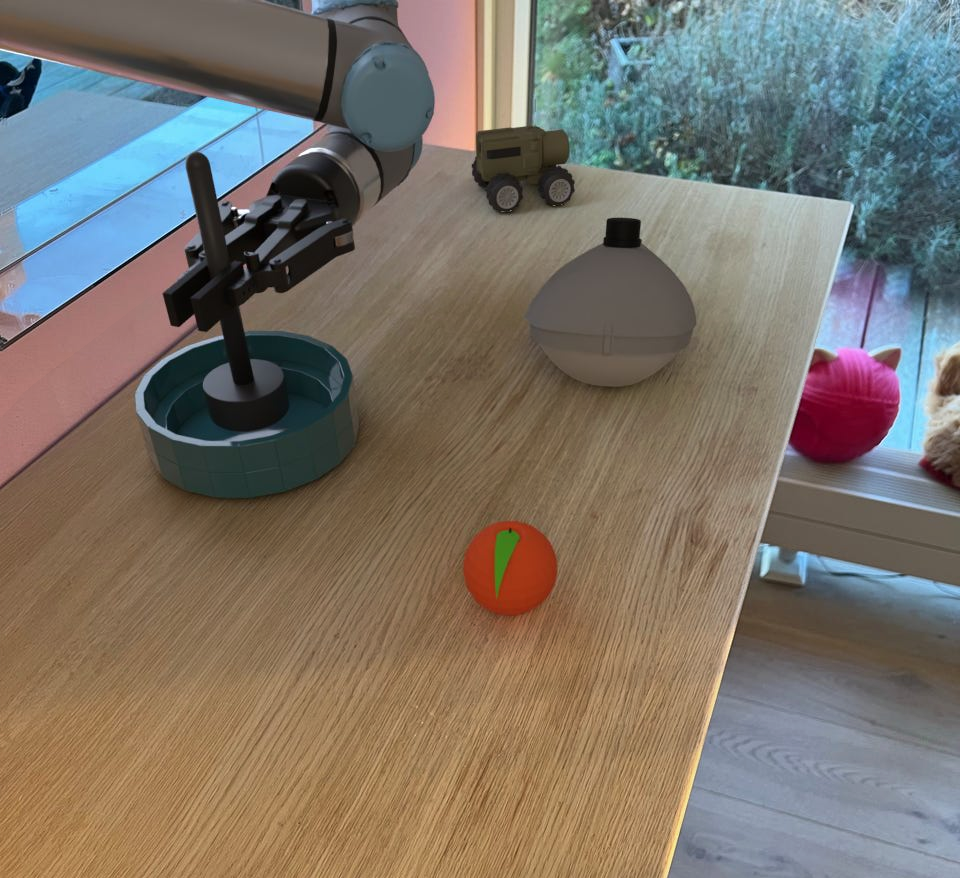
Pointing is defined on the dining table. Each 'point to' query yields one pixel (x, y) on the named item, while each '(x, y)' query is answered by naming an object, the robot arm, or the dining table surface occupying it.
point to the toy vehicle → (522, 165)
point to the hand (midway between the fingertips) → (185, 312)
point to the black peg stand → (232, 330)
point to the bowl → (251, 454)
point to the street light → (613, 311)
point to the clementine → (510, 567)
